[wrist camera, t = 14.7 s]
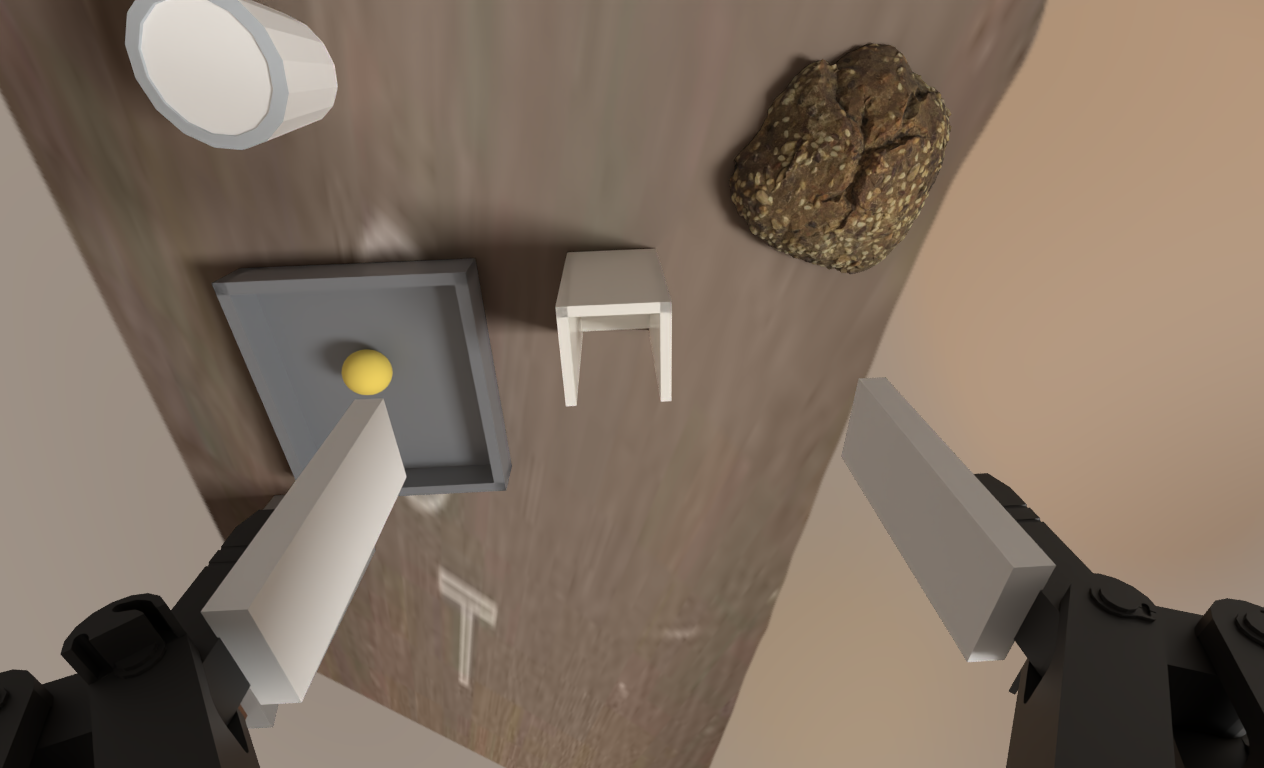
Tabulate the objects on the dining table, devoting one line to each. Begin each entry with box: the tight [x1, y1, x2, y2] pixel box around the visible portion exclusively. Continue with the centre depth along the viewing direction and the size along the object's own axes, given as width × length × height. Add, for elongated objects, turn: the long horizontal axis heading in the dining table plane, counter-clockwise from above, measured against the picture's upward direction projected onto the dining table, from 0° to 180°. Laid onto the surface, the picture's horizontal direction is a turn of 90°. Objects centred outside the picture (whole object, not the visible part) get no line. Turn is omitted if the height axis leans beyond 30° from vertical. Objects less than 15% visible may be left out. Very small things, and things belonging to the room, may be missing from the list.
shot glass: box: [125, 0, 338, 150], centre depth 28 cm, size 7×7×7 cm
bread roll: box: [730, 44, 951, 274], centre depth 33 cm, size 13×12×5 cm
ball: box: [342, 349, 393, 395], centre depth 38 cm, size 3×3×3 cm
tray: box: [212, 258, 512, 496], centre depth 39 cm, size 18×16×3 cm
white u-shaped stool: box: [555, 249, 672, 406], centre depth 34 cm, size 6×6×10 cm
